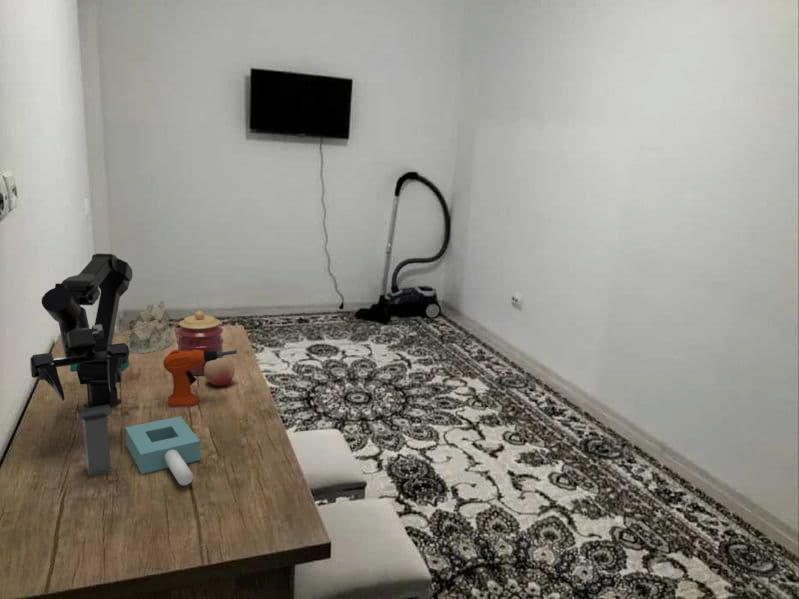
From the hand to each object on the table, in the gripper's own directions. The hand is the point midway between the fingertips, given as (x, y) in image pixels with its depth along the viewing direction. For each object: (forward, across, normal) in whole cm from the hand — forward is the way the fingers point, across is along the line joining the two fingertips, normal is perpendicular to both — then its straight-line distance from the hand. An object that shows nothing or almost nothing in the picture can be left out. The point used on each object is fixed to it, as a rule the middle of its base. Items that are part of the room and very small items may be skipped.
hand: (88, 395), depth 132 cm
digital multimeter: (-28, +11, +48) cm, 57 cm away
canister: (-18, +36, +38) cm, 55 cm away
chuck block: (+18, +13, +1) cm, 22 cm away
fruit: (-8, +37, +28) cm, 47 cm away
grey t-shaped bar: (+15, 0, +4) cm, 15 cm away
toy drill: (-1, +29, +21) cm, 35 cm away
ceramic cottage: (-38, +28, +58) cm, 75 cm away
